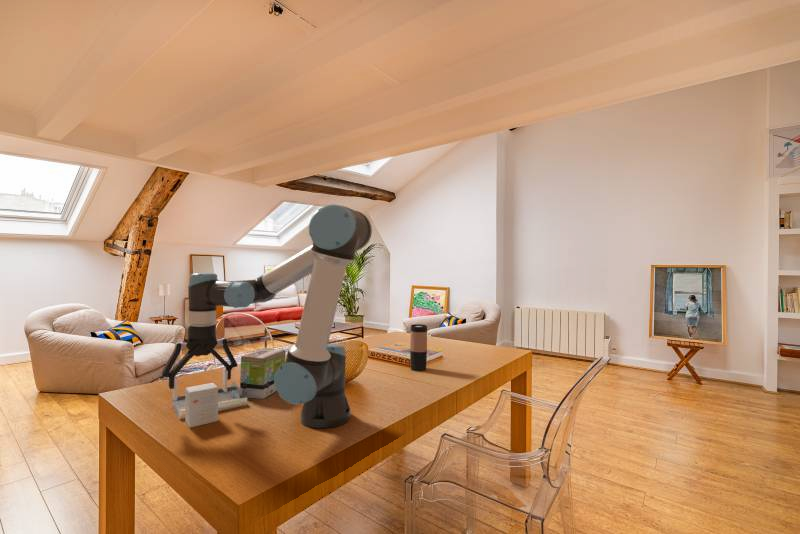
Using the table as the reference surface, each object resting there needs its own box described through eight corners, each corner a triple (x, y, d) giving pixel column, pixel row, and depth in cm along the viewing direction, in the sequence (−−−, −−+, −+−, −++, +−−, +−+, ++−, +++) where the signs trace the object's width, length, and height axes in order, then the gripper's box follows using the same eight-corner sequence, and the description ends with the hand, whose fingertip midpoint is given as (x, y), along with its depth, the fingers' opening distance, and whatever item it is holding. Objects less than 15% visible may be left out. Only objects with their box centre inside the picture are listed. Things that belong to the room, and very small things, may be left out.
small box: (213, 415, 121) (213, 382, 121) (218, 421, 116) (218, 386, 116) (184, 422, 116) (185, 387, 115) (188, 428, 111) (189, 392, 111)
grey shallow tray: (247, 405, 130) (247, 390, 130) (179, 419, 117) (179, 403, 117) (235, 393, 141) (235, 380, 141) (172, 405, 128) (172, 390, 128)
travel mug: (407, 367, 179) (408, 324, 179) (423, 366, 181) (423, 324, 181) (413, 372, 172) (413, 327, 171) (429, 370, 174) (429, 326, 174)
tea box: (264, 399, 135) (265, 357, 135) (239, 397, 137) (239, 356, 137) (285, 386, 150) (286, 348, 150) (262, 384, 152) (262, 347, 152)
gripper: (241, 319, 126) (240, 384, 127) (151, 325, 111) (150, 399, 111) (248, 323, 120) (247, 390, 121) (154, 330, 105) (153, 407, 105)
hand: (200, 394), depth 116 cm, fingers open, 13 cm apart
